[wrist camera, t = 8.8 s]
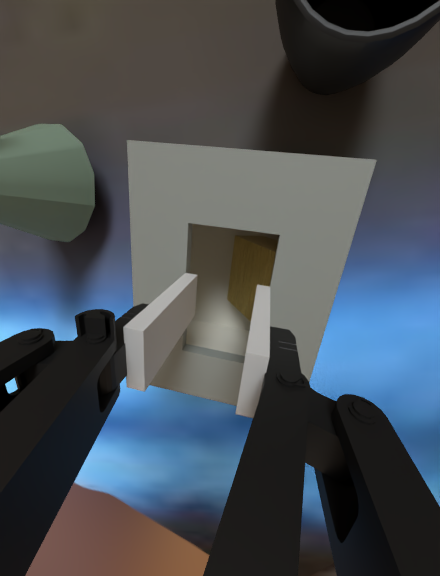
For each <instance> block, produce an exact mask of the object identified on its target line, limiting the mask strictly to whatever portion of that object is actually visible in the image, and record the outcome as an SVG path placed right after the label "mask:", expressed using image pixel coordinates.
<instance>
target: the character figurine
mask: <svg viewBox="0 0 440 576" xmlns="http://www.w3.org/2000/svg"><path fill="white" fill-rule="evenodd" d="M94 207H95V185H94V172H93V169H92V167H91V164H90V162H89V159H88V156H87V154H86V151H85V149H84V146H83V144H82V143H81V142H80V141H79V140H78V139H77V138H76V137H75V136H74V135H73V134H71V133H70V132H69V131H68V130H67V129H66V128H65V127H64V126H63V125H61V124H37V125H33V126H30V127H27V128H24V129H21V130H17V131H14V132H11V133H8V134H5V135H2V136H0V224H3V225H6V226H9V227H12V228H15V229H18V230H21V231H24V232H27V233H30V234H33V235H36V236H39V237H42V238H45V239H48V240H54V241H63V242H70V241H72V240H73V239H74V238H76V237H77V236H78V235H80V234H81V233H82V232H84V231H85V230H86V227H87V225H88V222H89V220H90V217H91V215H92V212H93V210H94Z"/></svg>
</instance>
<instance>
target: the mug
mask: <svg viewBox="0 0 440 576" xmlns="http://www.w3.org/2000/svg"><path fill="white" fill-rule="evenodd" d="M276 10H277V17H278V23H279V29H280V35H281V40H282V43H283V47H284V50H285V52H286V55H287V57H288V60H289V62H290V65H291V67H292V69H293V71H294V72H295V73H296V75H297V78H298V79H299V81H300V82H301V83H302V85H303V86H304V87H306V88H307V89H308V90H309V91H312V92H314V93H316V94H323V95H328V94H334V93H337V92H340V91H343V90H346V89H349V88H351V87H354V86H356V85H359V84H361V83H363V82H365V81H367V80H368V79H370V78H372V77H373V76H375V75H376V74H378V73H379V72H381V71H382V70H384V69H385V68H387V67H389V66H390V65H392V64H393V63H394V62H395V61H397V60H398V59H399V58H400V57H402V56H403V55H404V54H405V53H406V52H407V51H408V50H409V49H411V48H412V47H413V46H414V45H415V44H416V43H417V42H418V41H419V40H420V39H421V38H422V37H423V36H424V35H425V34H426V33H427V32H428V31H429V30H430V29H431V28H432V27H433V26H434V25H435V24H436V23H437V22H438V21H439V20H440V0H276Z"/></svg>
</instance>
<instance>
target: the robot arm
mask: <svg viewBox="0 0 440 576" xmlns="http://www.w3.org/2000/svg"><path fill="white" fill-rule="evenodd" d="M197 276H198V275H195V274H189V273H185V274H184V275H182V276H181V277H180V278H179V279H178V280H177V281H176V282H174V283H173V284H172V285H171V286H170V287H169V288H168V289H166V290H165V291H164V292H163V293H162V294H161V295H160V296H158V297H157V298H156V299H155V300H154V301H153V302H152V303H150V304H144V303H142V304H139V305H137V306H134V307H133V308H131V309H130V310H129V311H127V313H125V314H124V315H122V317H120V318H119V319H117V320H116V321H115V316H114V313H112V312H111V311H108V310H103V309H95V310H88V311H85V312H82V313H79V314H78V315H76V316H75V321H76V328H77V335H78V337H77V338H76V339H75V340H74V341H55V337H54V334H53V331H51V330H49V329H42V328H37V329H30V330H27V331H23V332H21V333H18V334H16V335H14V336H12V337H10V338H8V339H5V340H3V341H1V342H0V576H25V575H26V573H27V571H28V569H29V567H30V565H31V563H32V561H33V559H34V557H35V555H36V553H37V552H38V550H39V548H40V546H41V544H42V542H43V540H44V538H45V536H46V534H47V532H48V531H49V529H50V527H51V525H52V523H53V521H54V519H55V517H56V515H57V513H58V511H59V509H60V508H61V506H62V504H63V502H64V500H65V498H66V496H67V494H68V492H69V490H70V488H71V486H72V485H73V483H74V481H75V479H76V477H77V475H78V473H79V471H80V469H81V467H82V465H83V463H84V461H85V460H86V458H87V456H88V454H89V452H90V450H91V448H92V446H93V444H94V442H95V440H96V438H97V437H98V435H99V433H100V431H101V429H102V427H103V425H104V423H105V421H106V419H107V417H108V415H109V414H110V412H111V410H112V408H113V406H114V404H115V402H116V400H117V398H118V396H119V393H120V383H121V381H122V380H123V379H124V378H125V377H126V381H127V387H128V388H132V389H136V390H140V391H144V392H145V390H146V389H147V387H148V386H149V384H150V383H151V381H152V380H153V378H154V377H155V375H156V374H157V372H158V371H159V369H160V368H161V366H162V365H163V363H164V361H165V360H166V358H167V357H168V355H169V354H170V352H171V351H172V349H173V348H174V346H175V345H176V343H177V342H178V340H179V339H180V337H181V336H182V334H183V333H184V331H185V329H186V328H187V326H188V325H189V323H190V322H191V320H192V319H193V317H194V316H195V306H196V291H197ZM13 378H15V380H16V384H17V388H18V389H17V390H16V391H14V392H12V393H10V394H9V393H8V392H7V389H6V386H5V384H6V383H7V382H9V381H10V380H12V379H13ZM236 414H238V415H242V416H246V417H250V418H253V421H252V424H251V427H250V430H249V433H248V437H247V440H246V443H245V446H244V449H243V452H242V455H241V458H240V462H239V465H238V468H237V471H236V474H235V477H234V480H233V484H232V487H231V490H230V493H229V496H228V499H227V502H226V506H225V509H224V512H223V515H222V518H221V521H220V524H219V528H218V531H217V534H216V537H215V540H214V543H213V546H212V550H211V553H210V556H209V559H208V562H207V565H206V568H205V571H204V575H203V576H298V564H299V549H300V534H301V518H302V503H303V488H304V472H305V463H307V464H309V465H310V466H312V467H314V470H315V474H316V479H317V484H318V489H319V493H320V498H321V503H322V508H323V512H324V517H325V522H326V526H327V531H328V536H329V541H330V545H331V550H332V555H333V560H334V564H335V569H336V573H337V576H440V507H439V505H438V503H437V502H436V500H435V498H434V496H433V495H432V493H431V491H430V490H429V488H428V486H427V485H426V483H425V481H424V479H423V478H422V476H421V474H420V473H419V471H418V469H417V468H416V466H415V464H414V462H413V461H412V459H411V457H410V456H409V454H408V452H407V451H406V449H405V447H404V445H403V444H402V442H401V440H400V439H399V437H398V435H397V434H396V432H395V430H394V428H393V427H392V425H391V423H390V422H389V420H388V418H387V417H386V415H385V414H384V413H383V412H382V410H381V409H379V408H378V407H377V406H376V405H375V404H373V403H372V402H370V401H368V400H366V399H365V398H363V397H360V396H356V395H351V394H345V395H342V396H340V397H339V398H338V400H337V401H334V400H332V399H330V398H327V397H325V396H323V395H321V394H319V393H317V392H316V391H314V390H313V389H312V388H310V385H309V381H308V379H307V378H306V377H305V375H303V374H302V373H301V368H300V362H299V356H298V351H297V345H296V338H295V336H294V335H293V333H292V332H291V331H290V330H288V329H282V328H277V327H272V326H270V287H269V286H263V285H257V288H256V294H255V300H254V306H253V312H252V318H251V324H250V330H249V336H248V342H247V348H246V354H245V360H244V366H243V372H242V378H241V384H240V390H239V396H238V402H237V409H236Z"/></svg>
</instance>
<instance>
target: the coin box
mask: <svg viewBox="0 0 440 576" xmlns="http://www.w3.org/2000/svg"><path fill="white" fill-rule="evenodd" d="M127 150H128V176H129V201H130V227H131V253H132V279H133V305H134V306H137V305H139V304H142V303H144V304H150V303H152V302H153V301H154V300H155V299H156V298H157V297H158V296H160V295H161V294H162V293H163V292H164V291H165V290H166V289H168V288H169V287H170V286H171V285H172V284H173V283H174V282H176V281H177V280H178V279H179V278H180V277H181V276H182V275H184V274H185V273H189V274H195V275H198V276H197V291H196V306H195V316H194V317H193V319H192V320H191V322H190V323H189V325H188V326H187V328H186V329H185V331H184V333H183V334H182V336H181V337H180V339H179V340H178V342H177V343H176V345H175V346H174V348H173V349H172V351H171V352H170V354H169V355H168V357H167V358H166V360H165V361H164V363H163V365H162V366H161V368H160V369H159V371H158V372H157V374H156V375H155V377H154V378H153V380H152V381H151V383H150V384H149V385H152V386H156V387H160V388H165V389H169V390H173V391H177V392H181V393H185V394H189V395H194V396H198V397H202V398H206V399H210V400H214V401H219V402H223V403H227V404H231V405H235V406H237V402H238V396H239V390H240V384H241V378H242V372H243V366H244V360H245V354H246V348H247V342H248V336H249V330H250V324H251V322H250V321H249V320H248V319H247V318H246V317H245V316H244V315H243V314H242V313H241V312H240V311H239V310H238V309H237V308H236V307H235V306H233V305H232V304H231V303H230V302H229V301H228V300H227V295H228V287H229V279H230V271H231V263H232V255H233V247H234V239H235V235H241V236H265V237H268V238H271V239H274V240H277V241H278V244H277V249H276V254H275V260H274V265H273V270H272V276H271V281H270V286H269V287H270V326H272V327H277V328H282V329H288V330H290V331H291V332H292V333H293V335H294V336H295V338H296V345H297V351H298V356H299V362H300V368H301V373H302V374H303V375H305V377H306V378H307V379H308V381H310V378H311V374H312V371H313V368H314V364H315V361H316V358H317V354H318V351H319V348H320V345H321V341H322V338H323V335H324V331H325V328H326V325H327V322H328V318H329V315H330V312H331V308H332V305H333V302H334V299H335V295H336V292H337V289H338V285H339V282H340V279H341V276H342V272H343V269H344V266H345V262H346V259H347V256H348V252H349V249H350V246H351V243H352V239H353V236H354V233H355V229H356V226H357V223H358V220H359V216H360V213H361V210H362V206H363V203H364V200H365V197H366V193H367V190H368V187H369V183H370V180H371V177H372V174H373V170H374V167H375V164H376V160H373V159H360V158H347V157H335V156H322V155H309V154H297V153H284V152H271V151H259V150H246V149H233V148H220V147H208V146H195V145H182V144H170V143H157V142H144V141H132V140H127Z"/></svg>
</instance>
